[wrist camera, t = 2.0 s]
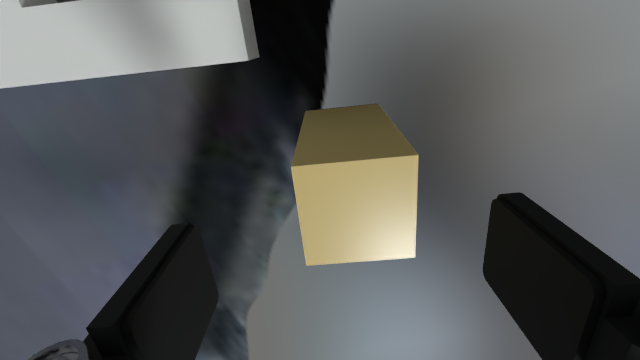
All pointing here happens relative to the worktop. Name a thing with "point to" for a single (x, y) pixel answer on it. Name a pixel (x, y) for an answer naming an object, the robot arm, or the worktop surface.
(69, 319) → the worktop surface
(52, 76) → the socket housing
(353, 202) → the plug block
